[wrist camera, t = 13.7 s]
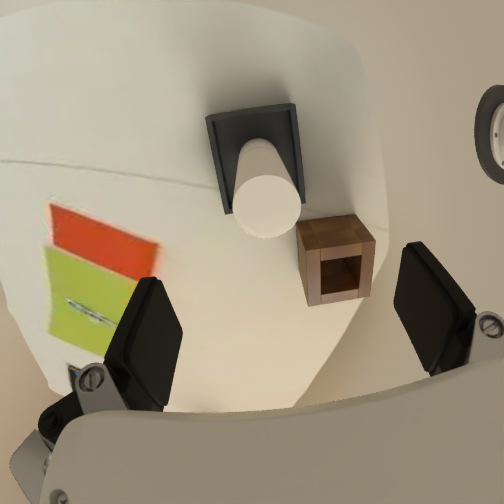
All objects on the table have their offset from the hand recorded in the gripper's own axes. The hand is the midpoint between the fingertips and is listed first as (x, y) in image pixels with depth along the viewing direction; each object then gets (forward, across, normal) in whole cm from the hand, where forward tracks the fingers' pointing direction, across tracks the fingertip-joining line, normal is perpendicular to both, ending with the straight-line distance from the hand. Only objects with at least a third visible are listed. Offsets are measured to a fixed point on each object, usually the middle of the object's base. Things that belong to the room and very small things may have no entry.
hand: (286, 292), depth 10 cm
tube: (+24, +1, 0) cm, 24 cm away
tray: (+24, +1, 0) cm, 24 cm away
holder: (+24, -7, +13) cm, 28 cm away
